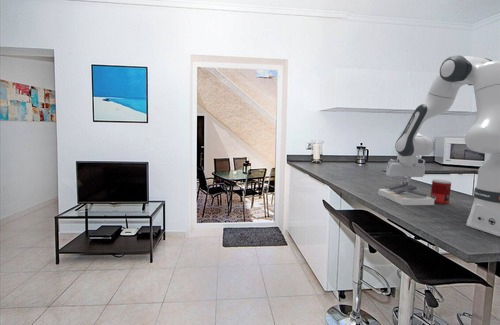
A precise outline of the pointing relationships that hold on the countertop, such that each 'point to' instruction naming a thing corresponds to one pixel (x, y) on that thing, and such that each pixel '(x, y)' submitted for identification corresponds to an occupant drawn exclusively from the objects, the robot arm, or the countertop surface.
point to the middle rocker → (410, 187)
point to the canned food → (441, 191)
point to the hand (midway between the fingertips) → (404, 184)
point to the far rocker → (395, 186)
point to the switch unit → (406, 198)
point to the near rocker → (414, 192)
